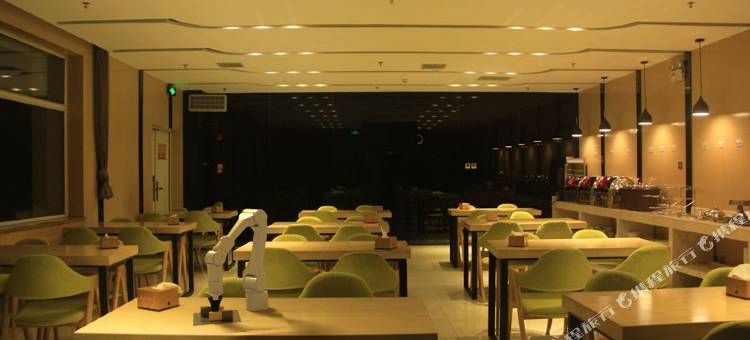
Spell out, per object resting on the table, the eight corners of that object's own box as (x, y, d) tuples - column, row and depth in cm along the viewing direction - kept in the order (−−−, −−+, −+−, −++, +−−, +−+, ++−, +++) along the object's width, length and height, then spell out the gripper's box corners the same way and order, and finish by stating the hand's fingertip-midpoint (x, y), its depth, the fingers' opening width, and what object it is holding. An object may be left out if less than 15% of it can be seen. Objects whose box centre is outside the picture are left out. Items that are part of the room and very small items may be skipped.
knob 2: (232, 317, 233) (232, 308, 233) (233, 319, 229) (233, 310, 229) (208, 318, 231) (208, 310, 231) (209, 321, 226) (209, 312, 226)
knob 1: (200, 316, 235) (200, 307, 235) (200, 313, 239) (200, 305, 239) (223, 314, 238) (223, 306, 238) (223, 312, 242) (223, 303, 242)
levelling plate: (237, 312, 247) (237, 308, 247) (241, 324, 226) (241, 320, 226) (193, 315, 242) (193, 311, 242) (193, 328, 221) (193, 324, 221)
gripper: (204, 278, 239) (204, 311, 239) (204, 284, 225) (205, 319, 225) (222, 277, 241) (222, 309, 241) (223, 283, 227) (223, 318, 227)
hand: (215, 314), depth 233 cm, fingers closed
